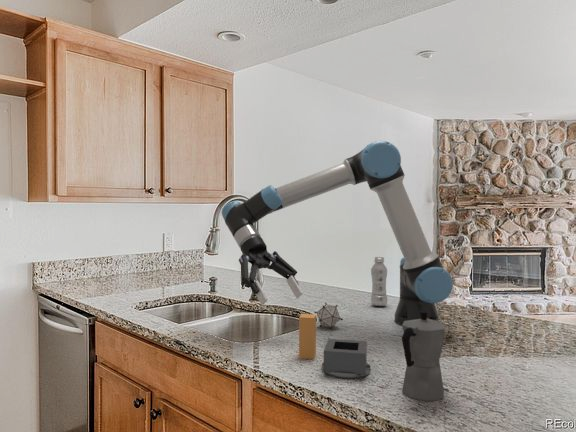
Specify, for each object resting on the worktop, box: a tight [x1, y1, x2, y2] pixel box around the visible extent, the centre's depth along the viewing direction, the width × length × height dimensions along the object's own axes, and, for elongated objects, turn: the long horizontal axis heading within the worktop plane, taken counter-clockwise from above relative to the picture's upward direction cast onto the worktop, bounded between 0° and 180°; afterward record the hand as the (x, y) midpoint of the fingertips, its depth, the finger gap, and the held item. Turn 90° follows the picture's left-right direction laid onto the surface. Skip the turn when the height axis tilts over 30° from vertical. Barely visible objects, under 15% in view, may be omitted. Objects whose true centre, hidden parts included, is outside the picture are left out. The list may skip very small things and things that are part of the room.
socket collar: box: [321, 338, 371, 380], centre depth 111 cm, size 12×12×6 cm
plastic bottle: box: [370, 256, 388, 308], centre depth 181 cm, size 6×7×20 cm
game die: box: [314, 301, 344, 331], centre depth 149 cm, size 9×8×10 cm
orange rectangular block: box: [298, 313, 317, 360], centre depth 121 cm, size 4×4×11 cm
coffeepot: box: [401, 311, 446, 402], centre depth 96 cm, size 15×9×18 cm, turn 137°
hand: (283, 298), depth 127 cm, fingers open, 13 cm apart
